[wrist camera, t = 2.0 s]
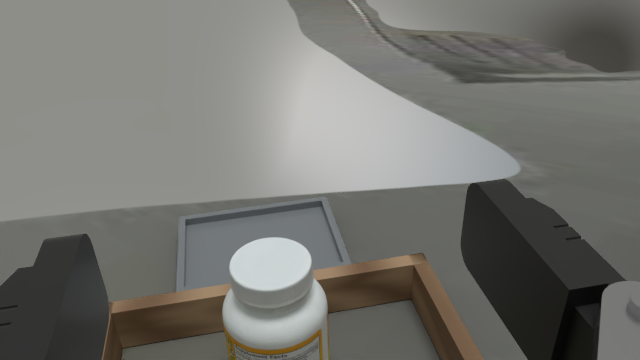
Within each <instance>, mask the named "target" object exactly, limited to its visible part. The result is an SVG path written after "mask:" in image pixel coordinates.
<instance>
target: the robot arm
mask: <svg viewBox="0 0 640 360" xmlns="http://www.w3.org/2000/svg"><path fill="white" fill-rule="evenodd" d="M461 251H462V256H463V260H464V262H465V265H466V267H467V269H468V270H469V272H470V273H471V275H472V276H473V278H474V279H475V281H476V282H477V284H478V285H479V287H480V288H481V290H482V291H483V293H484V294H485V296H486V297H487V299H488V300H489V302H490V303H491V305H492V306H493V308H494V309H495V311H496V312H497V314H498V315H499V317H500V318H501V320H502V321H503V323H504V324H505V326H506V327H507V329H508V330H509V332H510V333H511V335H512V336H513V338H514V339H515V341H516V342H517V344H518V345H519V347H520V348H521V350H522V351H523V353H524V354H525V356H526V357H527V359H528V360H640V282H636V281H626V280H625V279H624V278H623V277H622V276H621V275H620V274H619V273H618V272H617V271H616V270H615V269H614V268H613V267H612V266H611V265H610V264H609V263H608V262H607V261H605V260H604V259H603V258H602V257H601V256H600V255H599V254H598V253H597V252H596V251H595V250H594V249H593V248H592V247H591V246H590V245H589V244H588V243H587V242H586V241H585V240H584V239H583V240H581V236H580V235H579V234H578V233H577V232H576V231H575V230H574V229H573V228H572V227H569V226H568V223H567V222H566V221H565V220H564V219H563V218H562V217H561V216H559V215H558V214H557V213H556V212H555V211H554V210H553V209H552V208H550V207H548V206H546V205H544V204H542V203H540V202H538V201H536V200H535V199H533V198H527V199H526V198H525V197H524V196H523V195H522V194H521V193H520V192H519V191H518V190H517V189H516V188H515V187H514V186H513V185H512V184H511V183H510V182H509V181H508V180H506V179H500V180H493V181H485V182H478V183H472V184H470V186H469V187H468V190H467V195H466V203H465V211H464V219H463V227H462V235H461ZM108 323H109V303H108V297H107V292H106V289H105V285H104V282H103V279H102V276H101V272H100V269H99V266H98V262H97V259H96V256H95V253H94V249H93V246H92V243H91V240H90V238H89V236H88V235H87V234H80V235H72V236H65V237H57V238H50V239H45V240H44V241H43V243H42V246H41V248H40V251H39V253H38V256H37V258H36V261H35V263H34V266H33V267H26V268H19V269H17V270H16V271H15V272H14V273H13V274H12V275H11V276H10V277H9V278H8V279H7V280H6V281H5V282H4V283H3V284H2V285H1V286H0V360H102V355H103V350H104V345H105V339H106V334H107V329H108Z"/></svg>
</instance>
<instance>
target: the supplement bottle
mask: <svg viewBox="0 0 640 360" xmlns="http://www.w3.org/2000/svg"><path fill="white" fill-rule="evenodd" d="M229 274H230V282H231V288H230V290H229V291H228V293H227V295H226V297H225V300H224V303H223V308H222V316H223V324H224V330H225V335H226V342H227V348H228V353H229V359H230V360H329V336H328V306H327V299H326V295H325V293H324V290H323V289H322V287H321V285H320V284H319V283H318V282H317V281H316V280H315V279H314V274H313V267H312V259H311V255H310V253H309V252H308V250H307V249H306V248H305V247H304V246H303V245H301V244H300V243H298V242H296V241H293V240H290V239H287V238H279V237H270V238H262V239H258V240H255V241H252V242H250V243H248V244H246V245H244V246H242V247H241V248H240V249H238V250H237V251H236V252H235V254H234V255H233V257H232V258H231V261H230V264H229Z"/></svg>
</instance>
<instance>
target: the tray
mask: <svg viewBox="0 0 640 360" xmlns="http://www.w3.org/2000/svg"><path fill="white" fill-rule="evenodd" d="M270 237H279V238H287V239H290V240H293V241H296V242H298V243H300V244H301V245H303V246H304V247H305V248H306V249H307V250H308V252H309V253H310V255H311V259H312V267H313V270H318V269H324V268H330V267H337V266H343V265H349V264H352V263H351V260H350V258H349V255H348V253H347V250H346V247H345V245H344V242H343V240H342V237H341V234H340V232H339V229H338V226H337V224H336V221H335V219H334V216H333V213H332V211H331V208H330V206H329V203H328V200H327V198H326V196H325V197H318V198H311V199H303V200H296V201H289V202H282V203H275V204H267V205H260V206H253V207H246V208H239V209H231V210H224V211H217V212H210V213H202V214H195V215H188V216H181V217H179V232H178V256H177V280H176V292H179V291H185V290H191V289H198V288H204V287H210V286H217V285H223V284H229V283H231V282H230V274H229V264H230V261H231V258H232V257H233V255H234V254H235V252H236V251H237V250H238V249H240V248H241V247H242V246H244V245H246V244H248V243H250V242H252V241H255V240H258V239H262V238H270Z"/></svg>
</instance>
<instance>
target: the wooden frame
mask: <svg viewBox="0 0 640 360" xmlns="http://www.w3.org/2000/svg"><path fill="white" fill-rule="evenodd" d="M313 274H314V279H315V280H316V281H317V282H318V283H319V284H320V285H321V287H322V289H323V290H324V293H325V295H326V299H327V306H328V313H331V312H337V311H343V310H348V309H354V308H360V307H366V306H372V305H378V304H384V303H389V302H395V301H401V300H407V299H412V301H413V303H414V305H415V307H416V309H417V311H418V313H419V315H420V317H421V319H422V322H423V324H424V326H425V328H426V330H427V332H428V334H429V336H430V338H431V340H432V342H433V344H434V346H435V348H436V350H437V352H438V354H439V357H440V359H441V360H484V359H483V357H482V355H481V354H480V352H479V350H478V348H477V347H476V345H475V343H474V341H473V340H472V338H471V336H470V334H469V333H468V331H467V329H466V327H465V326H464V324H463V322H462V320H461V319H460V317H459V315H458V313H457V312H456V310H455V308H454V306H453V305H452V303H451V301H450V299H449V298H448V296H447V294H446V292H445V291H444V289H443V287H442V285H441V284H440V282H439V280H438V278H437V277H436V275H435V273H434V271H433V270H432V268H431V266H430V264H429V263H428V261H427V259H426V257H425V256H424V254H423V253H419V254H412V255H406V256H400V257H394V258H387V259H381V260H375V261H368V262H362V263H356V264H349V265H343V266H337V267H330V268H324V269H318V270H313ZM230 288H231V283H229V284H223V285H217V286H210V287H204V288H198V289H191V290H185V291H179V292H172V293H166V294H160V295H154V296H147V297H141V298H135V299H128V300H122V301H116V302H109V323H108V329H107V334H106V339H105V345H104V350H103V355H102V360H121V355H122V348H126V347H132V346H137V345H143V344H149V343H155V342H161V341H167V340H173V339H178V338H184V337H190V336H196V335H202V334H208V333H214V332H219V331H225V330H224V324H223V316H222V308H223V303H224V300H225V297H226V295H227V293H228V291H229V290H230Z"/></svg>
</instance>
